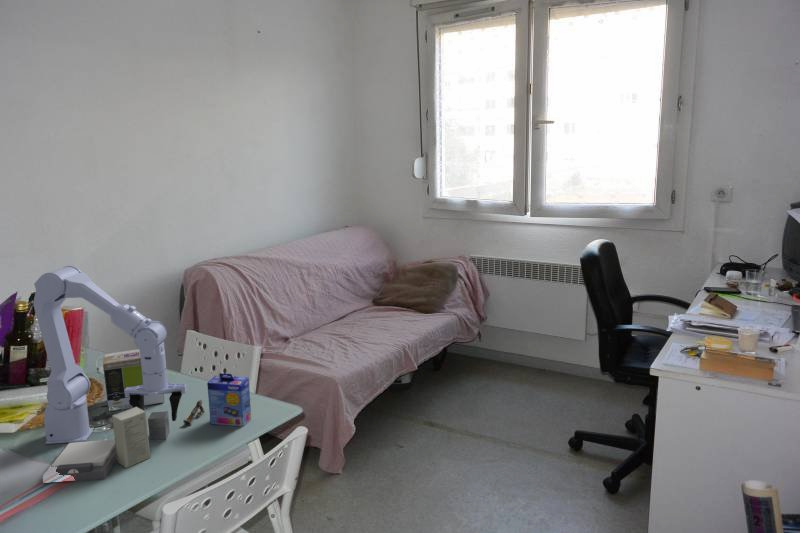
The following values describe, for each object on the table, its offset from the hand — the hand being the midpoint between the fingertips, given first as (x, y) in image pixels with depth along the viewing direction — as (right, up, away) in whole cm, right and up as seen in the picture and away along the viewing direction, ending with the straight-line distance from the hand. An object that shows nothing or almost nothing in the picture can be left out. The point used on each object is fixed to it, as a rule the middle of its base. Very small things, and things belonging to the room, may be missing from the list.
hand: (158, 420), depth 152 cm
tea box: (-16, 0, +22) cm, 27 cm away
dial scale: (-12, -7, -13) cm, 19 cm away
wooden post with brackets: (+5, -3, +11) cm, 12 cm away
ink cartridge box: (+16, -3, +9) cm, 19 cm away
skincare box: (-2, -7, -11) cm, 13 cm away
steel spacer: (0, -4, +1) cm, 5 cm away
